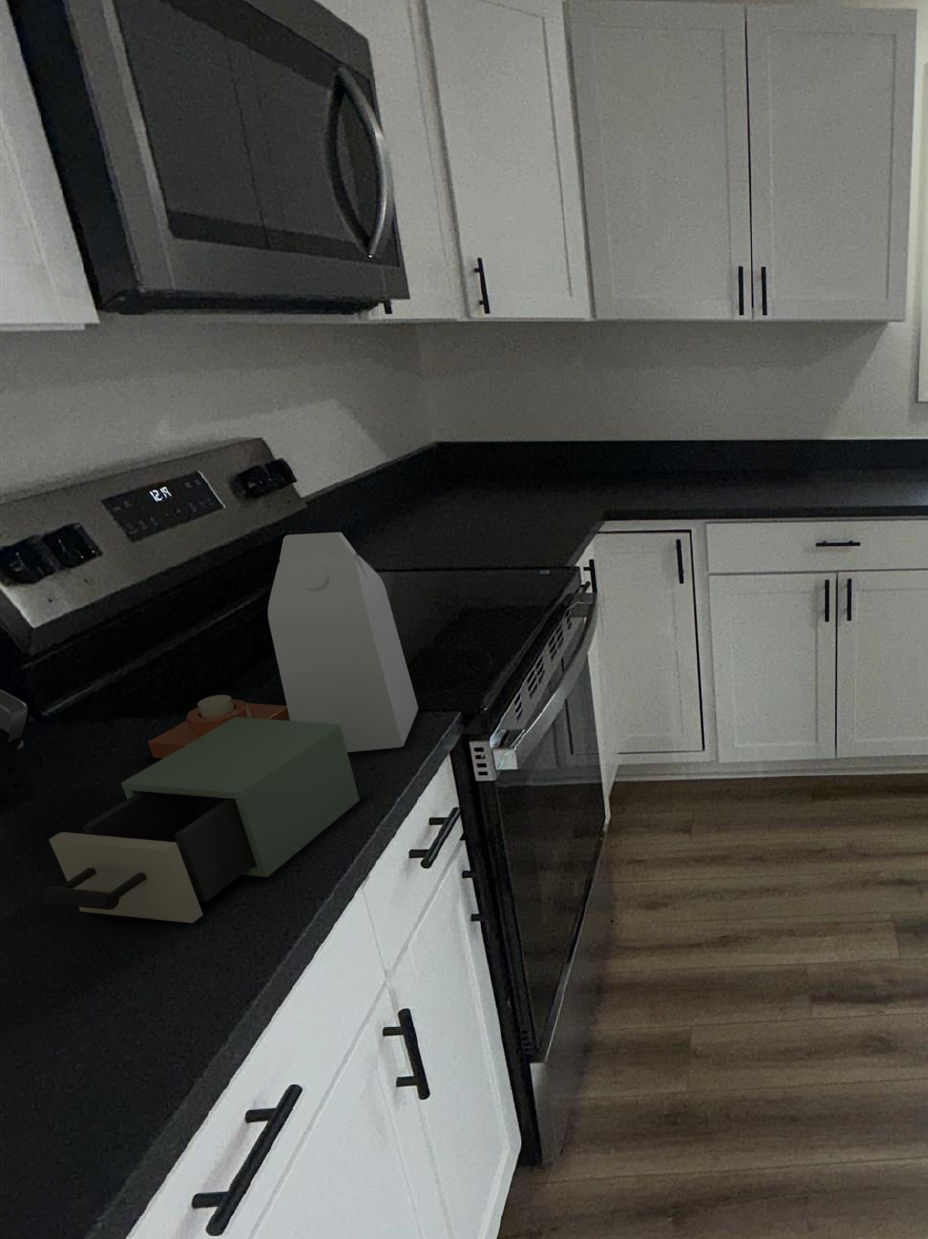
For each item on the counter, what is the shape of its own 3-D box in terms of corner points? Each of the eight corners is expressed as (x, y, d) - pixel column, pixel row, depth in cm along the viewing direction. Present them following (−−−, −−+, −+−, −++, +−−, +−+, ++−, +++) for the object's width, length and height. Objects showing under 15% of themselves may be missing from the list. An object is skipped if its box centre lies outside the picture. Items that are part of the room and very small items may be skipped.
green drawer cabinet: (267, 877, 86) (239, 792, 82) (152, 866, 87) (120, 782, 83) (359, 800, 99) (340, 723, 95) (258, 792, 101) (235, 716, 97)
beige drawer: (152, 956, 74) (121, 880, 71) (35, 943, 76) (-1, 868, 73) (296, 839, 90) (276, 772, 87) (197, 830, 92) (174, 764, 88)
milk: (418, 708, 121) (377, 521, 110) (402, 746, 111) (356, 543, 100) (322, 718, 118) (271, 526, 107) (298, 757, 108) (238, 550, 97)
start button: (220, 720, 109) (216, 707, 109) (194, 718, 110) (190, 705, 109) (241, 708, 113) (237, 695, 112) (216, 706, 113) (212, 693, 112)
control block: (226, 763, 107) (216, 734, 105) (153, 757, 108) (142, 728, 106) (293, 720, 118) (286, 693, 116) (226, 715, 119) (218, 688, 117)
